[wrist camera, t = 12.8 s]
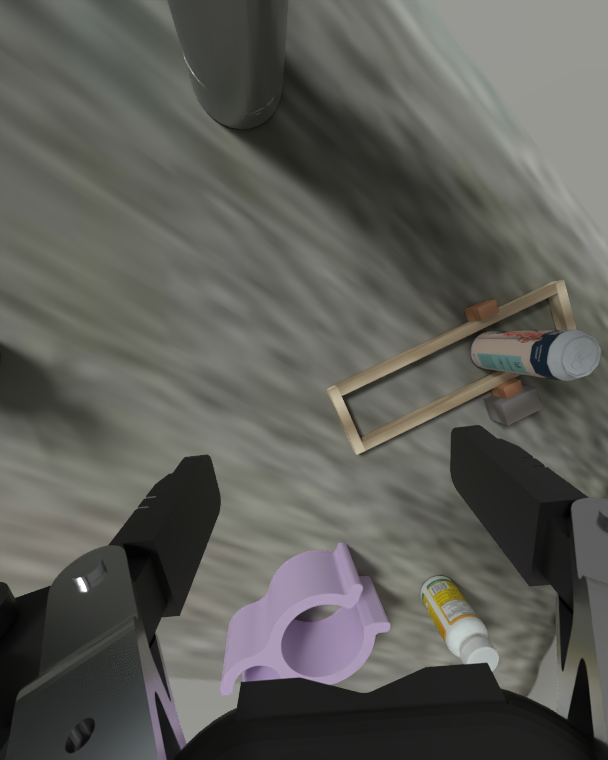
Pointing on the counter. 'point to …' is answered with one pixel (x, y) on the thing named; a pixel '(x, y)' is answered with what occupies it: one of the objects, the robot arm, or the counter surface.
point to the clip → (306, 623)
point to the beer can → (538, 353)
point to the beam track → (507, 392)
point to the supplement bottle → (458, 622)
